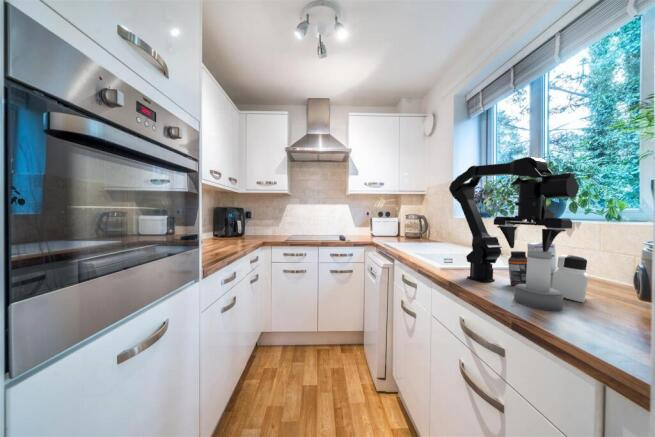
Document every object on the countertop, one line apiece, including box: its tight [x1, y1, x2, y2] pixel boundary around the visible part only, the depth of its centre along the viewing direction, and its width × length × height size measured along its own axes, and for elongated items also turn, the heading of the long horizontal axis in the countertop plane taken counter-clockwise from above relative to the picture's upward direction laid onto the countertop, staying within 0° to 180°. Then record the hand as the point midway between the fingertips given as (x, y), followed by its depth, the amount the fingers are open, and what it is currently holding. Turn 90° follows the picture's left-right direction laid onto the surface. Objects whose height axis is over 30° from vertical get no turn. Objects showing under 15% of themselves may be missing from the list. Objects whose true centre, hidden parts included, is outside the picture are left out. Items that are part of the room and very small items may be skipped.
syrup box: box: [527, 242, 558, 288], centre depth 82 cm, size 6×6×14 cm
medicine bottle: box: [551, 254, 589, 303], centre depth 74 cm, size 7×7×12 cm
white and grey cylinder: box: [526, 249, 552, 292], centre depth 68 cm, size 5×5×10 cm
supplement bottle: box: [507, 250, 527, 287], centre depth 85 cm, size 6×6×11 cm
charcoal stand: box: [513, 284, 564, 312], centre depth 68 cm, size 10×10×4 cm
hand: (527, 250), depth 78 cm, fingers open, 9 cm apart
